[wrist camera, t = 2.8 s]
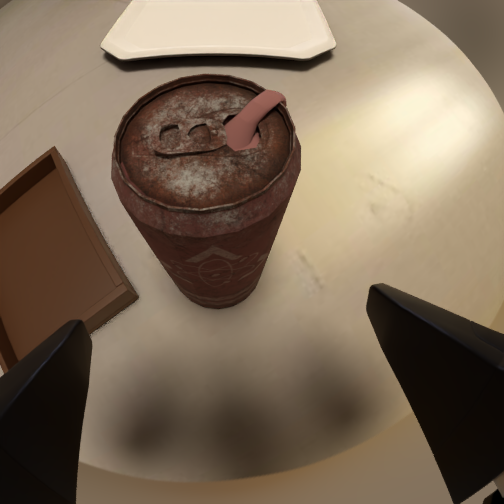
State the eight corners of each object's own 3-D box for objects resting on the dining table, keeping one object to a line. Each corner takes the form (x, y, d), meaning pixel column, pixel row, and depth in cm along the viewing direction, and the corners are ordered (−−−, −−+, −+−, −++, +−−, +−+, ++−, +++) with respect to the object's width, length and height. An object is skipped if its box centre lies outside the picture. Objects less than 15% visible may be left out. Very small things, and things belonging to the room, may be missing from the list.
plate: (148, -10, 37) (147, -19, 35) (306, -8, 39) (308, -17, 37) (91, 77, 28) (86, 64, 25) (340, 77, 30) (345, 63, 27)
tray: (139, 297, 20) (128, 289, 18) (27, 382, 17) (8, 383, 15) (65, 162, 23) (54, 145, 21) (-23, 237, 20) (-38, 227, 18)
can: (280, 262, 22) (350, 126, 9) (218, 328, 20) (197, 272, 7) (219, 208, 23) (214, 45, 10) (156, 267, 21) (69, 139, 8)
